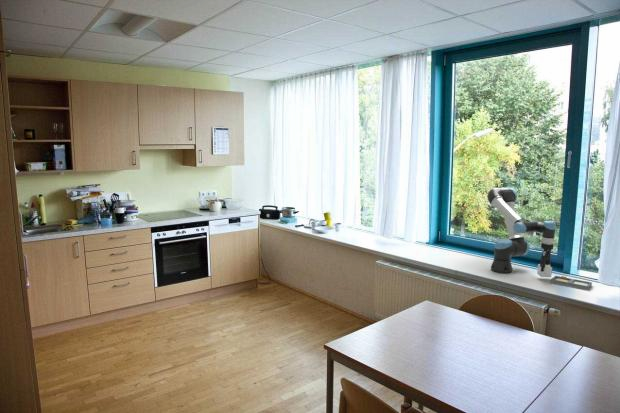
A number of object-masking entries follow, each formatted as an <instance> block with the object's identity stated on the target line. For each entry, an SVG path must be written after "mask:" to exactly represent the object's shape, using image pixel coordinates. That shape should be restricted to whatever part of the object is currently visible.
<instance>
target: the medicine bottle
mask: <svg viewBox="0 0 620 413" xmlns="http://www.w3.org/2000/svg"><path fill="white" fill-rule="evenodd" d="M550 262H551V260H549V259H547V260H546V264H545V275H544V276H540V269H541V266H540V263H539V264H537V273H536V274H537V275H538V276H539V277H542V278H552V272H553V267H552V266H551V264H550ZM551 263H552V262H551Z"/></svg>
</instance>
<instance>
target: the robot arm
mask: <svg viewBox="0 0 620 413" xmlns="http://www.w3.org/2000/svg"><path fill="white" fill-rule="evenodd" d="M486 198H487V201H488V202H489V204H490V205H491V206H492V207H494V208H496V209H497V210H498V212H500V214H501V215H503V217H504V222H505V226H506V230H507V234H508V238H502V239H501V238H500V239H497V240H495V241H494V250H493V251H494V253H493V260H492V263H491V266H490V271H492V272H495V273H499V274H512V273H513V271H514V270H513V265H512V261H511V260H512V258H513V257H522V256H526V255H528V254H529V252H530V249H531V248H530V247H531V246H530V243H529V241H528V240H526V239H525V236H523V235H522V234H527V233H540V234H542V235H541V243H540V244H541V245H540V248H541V249H543V251H542V252H541V259H540V263H539V264H540V266H541V269H540V276H544V275H545V264H546V260H547V259H549V260H550V261H551V254H552V250H553V249H554V246H555V245H554V243H555V242H556V239H555V235H556V229H557V227H556V224H557V223H556V222H555V221H553V220H544V221H543V222H542V221H538V220H530V221H526V220H524V219H523V218H522V217H521V216H520V215H519V214H518V213H517V212H516V208H515V205H516V201H517V198H518V193H517V191H516V189H515V188H513V187H507V186H506V187H493V188H491V189H489V191H488V192H487V196H486ZM551 264H552V262H550V265H551ZM540 276H539V277H540Z"/></svg>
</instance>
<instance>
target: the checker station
mask: <svg viewBox="0 0 620 413" xmlns="http://www.w3.org/2000/svg"><path fill="white" fill-rule="evenodd" d="M550 284H554V285H559V286H565V287H569V288H574V289H580V290H584V291H589V289H591V288H592V287H593V286H592V285H593V282H592V281H587V280H581V279H576V278H569V277H567V275H561V276H559V275H554V276H553V277H551V278H550Z"/></svg>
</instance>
